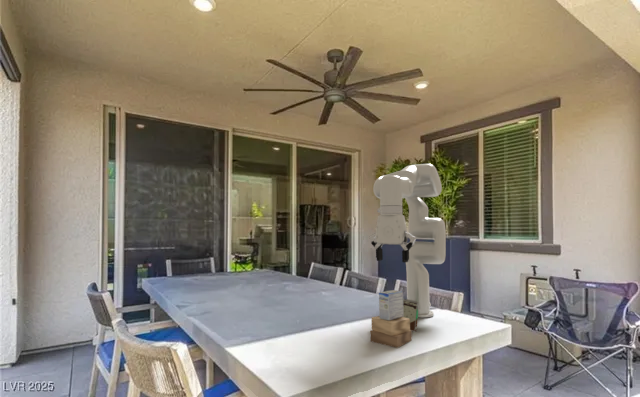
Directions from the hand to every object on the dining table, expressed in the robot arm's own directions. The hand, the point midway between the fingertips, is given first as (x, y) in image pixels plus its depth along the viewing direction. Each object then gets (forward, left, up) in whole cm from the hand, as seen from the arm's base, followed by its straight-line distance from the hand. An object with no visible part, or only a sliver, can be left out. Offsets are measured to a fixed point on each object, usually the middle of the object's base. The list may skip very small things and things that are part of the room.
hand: (392, 261), depth 123 cm
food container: (-17, -3, -27) cm, 32 cm away
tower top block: (+1, 0, -23) cm, 23 cm away
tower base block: (+1, 0, -27) cm, 27 cm away
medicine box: (+1, 0, -19) cm, 19 cm away
